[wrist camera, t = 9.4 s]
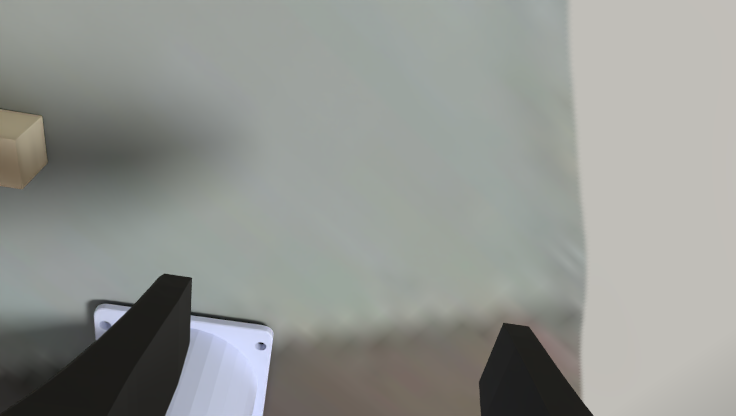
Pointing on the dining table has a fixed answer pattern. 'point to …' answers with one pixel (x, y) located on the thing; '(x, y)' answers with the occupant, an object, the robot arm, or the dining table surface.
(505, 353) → the robot arm
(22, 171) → the slide channel
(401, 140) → the dining table surface
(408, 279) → the dining table surface
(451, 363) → the dining table surface
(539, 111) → the dining table surface
